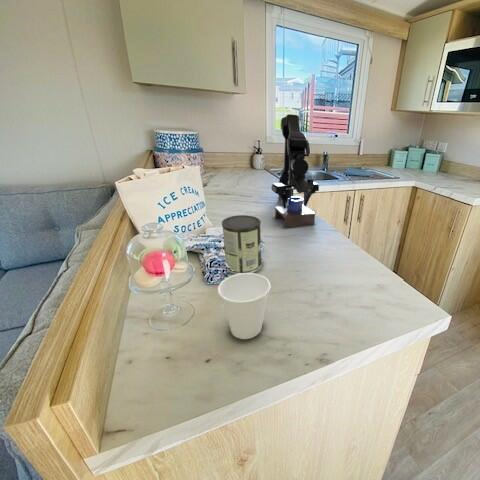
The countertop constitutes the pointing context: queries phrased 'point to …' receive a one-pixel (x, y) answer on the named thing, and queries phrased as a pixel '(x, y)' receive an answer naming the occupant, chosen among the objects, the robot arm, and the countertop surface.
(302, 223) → the white-topped brown block
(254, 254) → the coffee can
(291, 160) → the robot arm
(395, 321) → the countertop surface
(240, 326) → the cup
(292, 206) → the ramekin
